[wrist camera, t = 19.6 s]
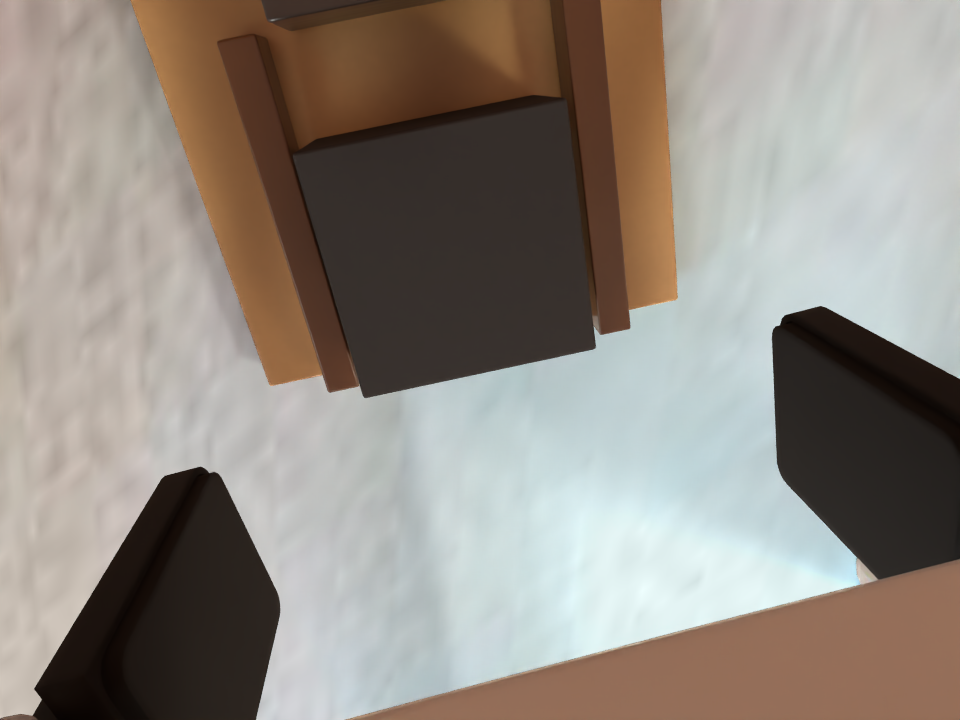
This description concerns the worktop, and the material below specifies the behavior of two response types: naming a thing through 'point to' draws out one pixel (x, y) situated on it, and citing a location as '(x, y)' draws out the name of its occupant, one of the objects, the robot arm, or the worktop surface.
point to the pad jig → (400, 97)
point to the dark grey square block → (452, 241)
